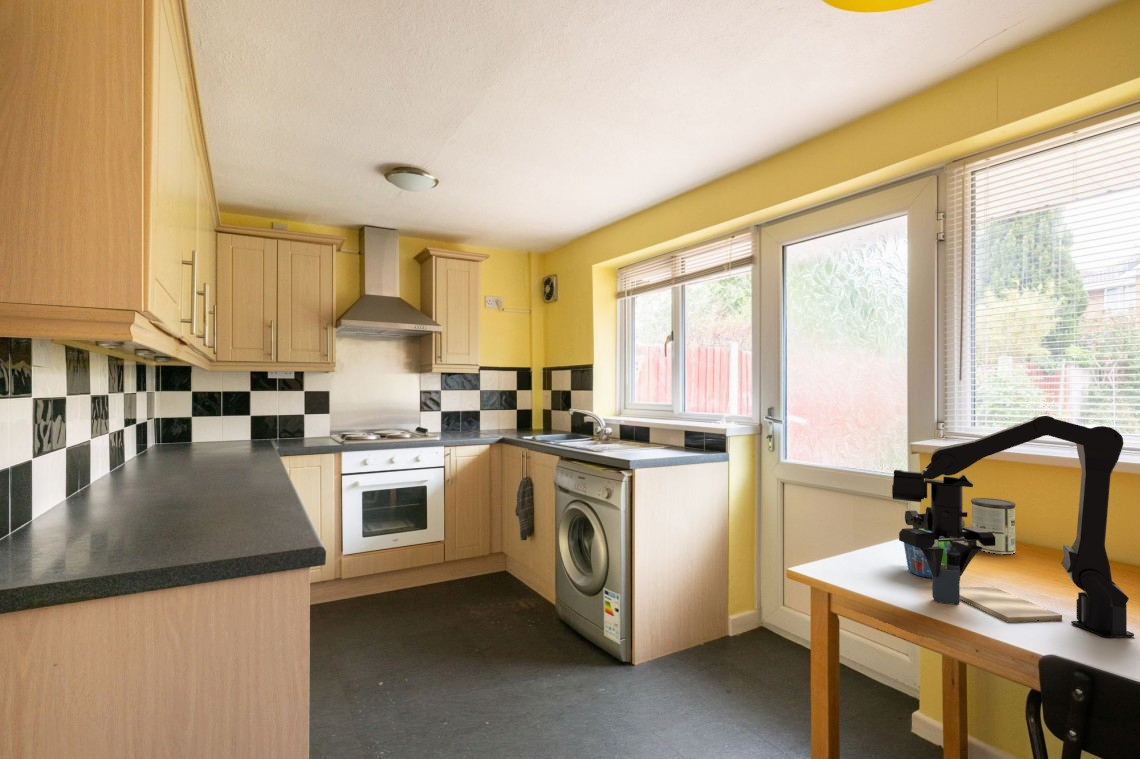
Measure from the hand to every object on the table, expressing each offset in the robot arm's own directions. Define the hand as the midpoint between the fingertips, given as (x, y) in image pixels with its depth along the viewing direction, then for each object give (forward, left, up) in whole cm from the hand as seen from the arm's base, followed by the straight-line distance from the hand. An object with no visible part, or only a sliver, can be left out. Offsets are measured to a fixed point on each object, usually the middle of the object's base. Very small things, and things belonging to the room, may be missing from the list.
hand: (946, 576), depth 120 cm
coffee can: (+35, -45, -6) cm, 57 cm away
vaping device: (0, 0, -6) cm, 6 cm away
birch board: (-3, -10, -6) cm, 12 cm away
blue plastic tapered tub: (+17, -9, -6) cm, 20 cm away
